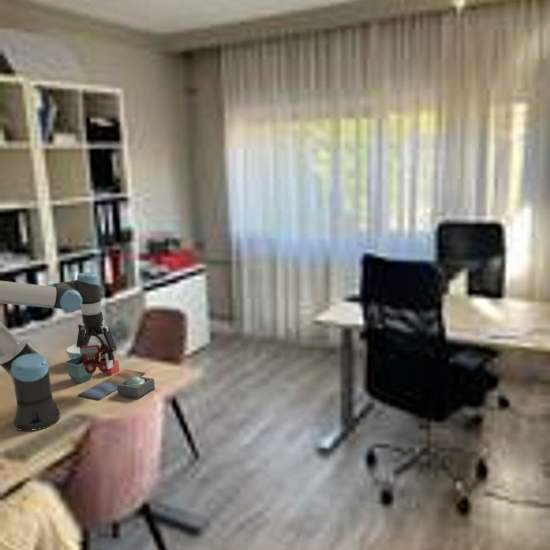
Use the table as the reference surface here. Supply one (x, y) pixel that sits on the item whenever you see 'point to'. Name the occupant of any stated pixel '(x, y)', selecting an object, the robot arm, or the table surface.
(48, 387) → the robot arm
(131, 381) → the dome cap
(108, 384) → the board
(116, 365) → the die
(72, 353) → the chinaware
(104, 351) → the toy fire truck
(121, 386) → the dome housing
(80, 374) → the flower pot
